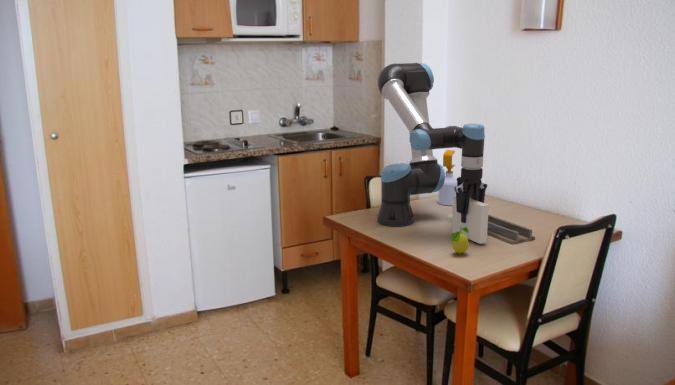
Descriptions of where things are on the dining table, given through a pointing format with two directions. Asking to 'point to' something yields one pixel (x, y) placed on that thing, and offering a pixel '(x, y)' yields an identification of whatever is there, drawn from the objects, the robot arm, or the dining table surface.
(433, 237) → the dining table surface
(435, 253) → the dining table surface
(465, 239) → the lemon
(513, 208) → the dining table surface
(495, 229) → the track plinth
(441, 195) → the soap bottle
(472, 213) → the door panel
